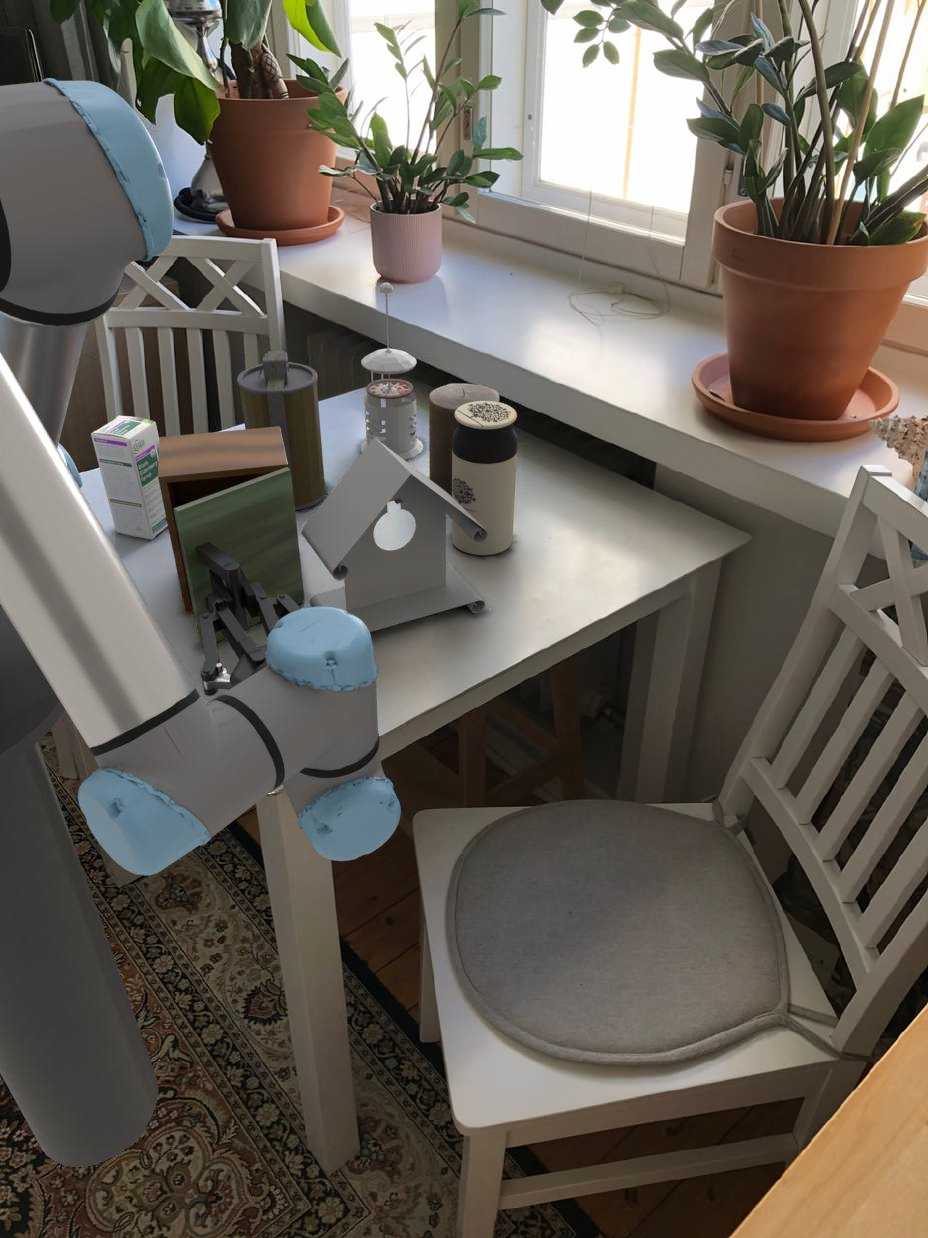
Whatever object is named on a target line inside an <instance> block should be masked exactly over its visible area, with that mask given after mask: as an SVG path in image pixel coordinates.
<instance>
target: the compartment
mask: <svg viewBox="0 0 928 1238" xmlns="http://www.w3.org/2000/svg"><path fill="white" fill-rule="evenodd" d="M286 467H287V468H288V462H287V457H286V453H285V448H284V444H283V439H282V434H281V430H280V426H278V427H267V428H256V429H245V428H244V429H234V430H224V431H223V430H222V431H213V432H202V433H191V434H179V435H168V436H167V435H166V436H159V461H158V480H159V485H160V489H161V494H162V499H163V504H164V509H165V514H166V519H167V524H168V526H167V528H168V534H169V538H170V539H169V540H170V543H171V544H170V545H171V550H172V553H173V558H174V562H175V563H174V564H175V568H176V574H177V578H178V583H179V588H180V593H181V598H182V602H183V607H184V612H185V613H190V612H194V611H193V606H192V601H191V596H190V590H189V585H188V580H187V575H186V570H185V565H184V560H183V555H182V550H181V545H180V539H179V534H178V529H177V524H176V519H175V514H174V508H176V507H179V506H182V505H184V504H187V503H190V502H193V501H195V500H198V499H201V498H204V497H206V496H209V495H212V494H215V493H217V492H220V491H223V490H225V489H228V488H231V487H234V486H236V485H239V484H242V483H245V482H247V481H250V480H253V479H255V478H258V477H261V476H264V475H266V474H269V473H272V472H275V471H277V470H280V469H283V468H286Z"/></svg>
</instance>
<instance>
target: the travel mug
mask: <svg viewBox="0 0 928 1238" xmlns="http://www.w3.org/2000/svg"><path fill="white" fill-rule="evenodd" d="M517 417H518V413H517V411H516V410H515V409H514V408H513V407H511V406H510V405H508V404H506V403H503V402H500V401H499V402H494V401H475V402H470V403H466V404H464V405H461V406H460V407H458V408H457V409H456V411H455V418H456V420H457V423H458V427H457V429H456V431H455V433H454V434H453V437H452V498H453V499H455V500H456V501H457V502H458V503H459V504H460V505H461V506H462V507H463V508H464V509H465V510H466V511H467V512H468V513H469V514H470V515H471V516H472V517H473V518H474V519H475V520H476V521H477V522H478V523H479V524H480V525H482V526H483V527H484V528H485V529H486V530H487V532H488V537H487V539H486V540H485V541H484V542H483V543H480V544H477V543H475V542H474V541H473V540H472V539H471V538H470V537H469V536H468V535H467V534H466V533H465V532H464V531H463V530H462V529H461V528H460V527H459V526H458V525H457V524H456V523H455V522H454V521H453V520H452V519H451V542H452V545H454V546H455V547H456V548H457V549H459V550H460V551H462V552H464V553H467V554H471V555H477V556H488V555H496V554H499V553H502V552H505V551H506V550H508V549H509V548H510V547H511V546H512V543H513V539H514V519H515V518H514V517H515V499H516V478H517V460H518V458H517V457H518V442H519V441H518V435H517V433H516V431H515V430H514V428H513V427H514V423H515V421H516V420H517Z"/></svg>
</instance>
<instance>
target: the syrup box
mask: <svg viewBox="0 0 928 1238" xmlns="http://www.w3.org/2000/svg"><path fill="white" fill-rule="evenodd" d="M90 437H91V440H92V444H93V448H94V452H95V456H96V459H97V460H96V461H97V463H98V467H99V472H100V475H101V479H102V483H103V487H104V490H105V495H106V498H107V501H108V505H109V510H110V514H111V517H112V521H113V526H114V529H115V531H116V533H118V534H122V535H126V536H130V537H135V538H140V539H145V540H154V539H155V538H156V536H158V535H159V534H160V533H161V532H162V531H164V530H165V529H166V528H168V524H167V519H166V514H165V509H164V504H163V499H162V494H161V489H160V485H159V480H158V461H159V437H160V436H159V432H158V426H157V423H156V421H154V420H151V419H147V418H143V417H139V416H129V415H117V416H116V417H115V418H114V419H112V420H111V421H110V422H108V423H106V424H104V425H103V426H101V427H99V428H98V429H96V430H94V431H92V432H91V433H90Z"/></svg>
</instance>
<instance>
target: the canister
mask: <svg viewBox="0 0 928 1238" xmlns="http://www.w3.org/2000/svg"><path fill="white" fill-rule="evenodd" d="M318 376H319V375H318V373H317V371H316V370H315V369H314V368H312V367H311V366H309V365H307V364H302V363H298V362H291V361H289V357H288V352H286V351H285V350H269V351H267V352H266V353H264V356H263V357H262V363H259V364H256V365H253V366H250V367H248V368H246V369H244V370H243V371H241V372H240V373H239V374H238V375H237V379H236V382H237V385H238V386H239V391H240V400H241V406H242V414H243V421H244V430H245V429H256V428H267V427H278V426H280V430H281V434H282V439H283V444H284V448H285V453H286V457H287V462H288V468H289V469H290V470H291V478H292V487H293V496H294V505H295V512H296V511H302V510H306V509H309V508H311V507H315V506H316V505H318V504H319V503H321V502H322V501H323V500H325V498H326V497H327V494H328V486H327V485H326V483H325V470H324V457H323V446H322V445H323V443H322V432H321V418H320V407H319V394H318V393H319V392H318V383H317V382H318Z"/></svg>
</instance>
